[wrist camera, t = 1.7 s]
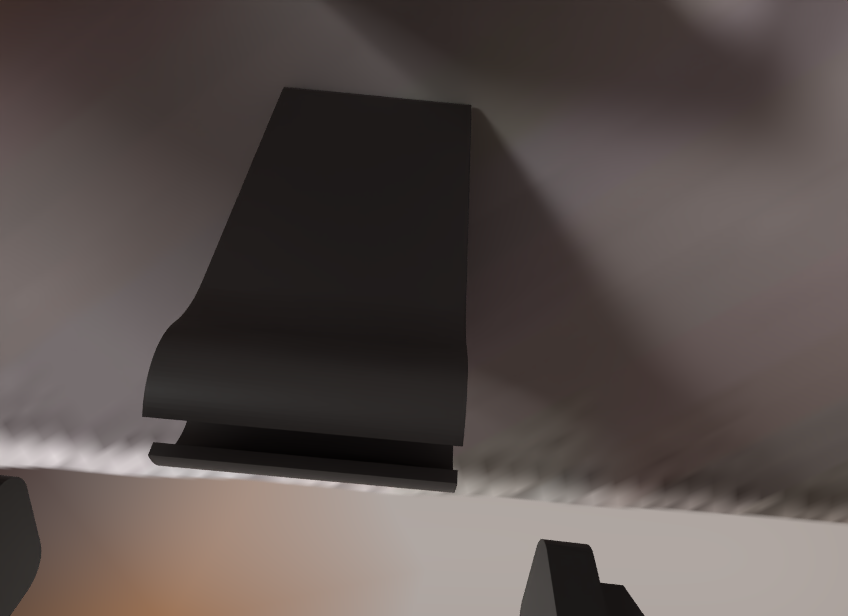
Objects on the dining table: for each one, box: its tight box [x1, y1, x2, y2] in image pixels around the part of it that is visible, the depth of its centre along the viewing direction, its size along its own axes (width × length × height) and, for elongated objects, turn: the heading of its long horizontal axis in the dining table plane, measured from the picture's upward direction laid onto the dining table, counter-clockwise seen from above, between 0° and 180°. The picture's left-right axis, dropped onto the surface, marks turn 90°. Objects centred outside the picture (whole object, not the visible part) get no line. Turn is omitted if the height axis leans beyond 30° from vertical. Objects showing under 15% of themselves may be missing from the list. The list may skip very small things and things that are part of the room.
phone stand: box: [142, 87, 471, 493], centre depth 17 cm, size 9×6×12 cm, turn 175°
